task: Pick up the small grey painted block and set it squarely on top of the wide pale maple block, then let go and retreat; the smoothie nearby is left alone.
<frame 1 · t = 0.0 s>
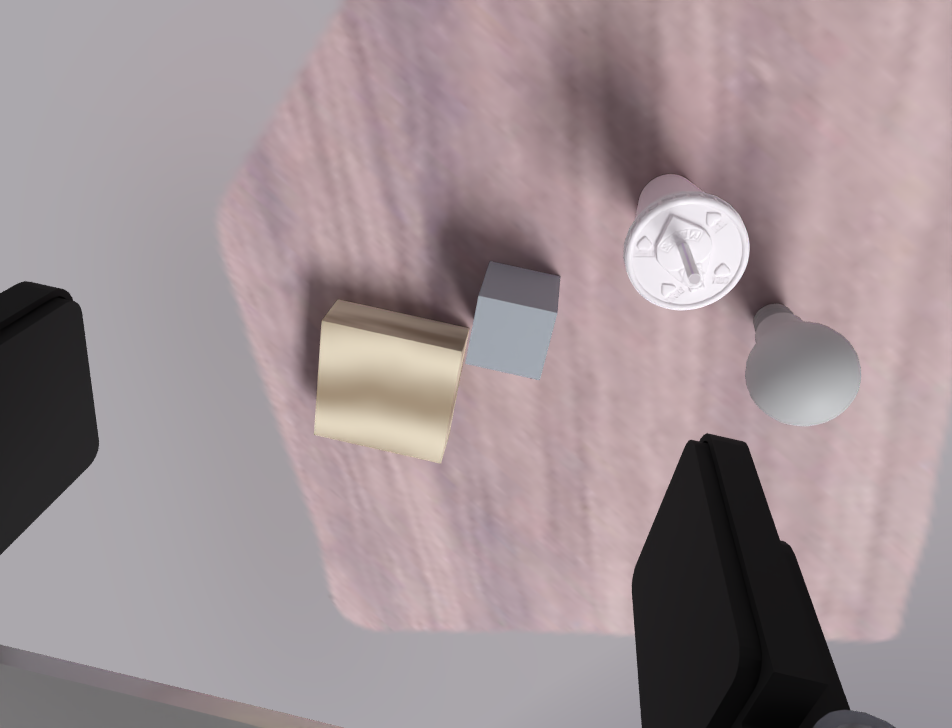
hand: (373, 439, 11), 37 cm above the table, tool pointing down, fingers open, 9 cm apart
lightbulb: (769, 314, 48), on the table
grey block: (517, 300, 49), on the table
smoothie: (667, 202, 45), on the table
maple block: (396, 368, 54), on the table
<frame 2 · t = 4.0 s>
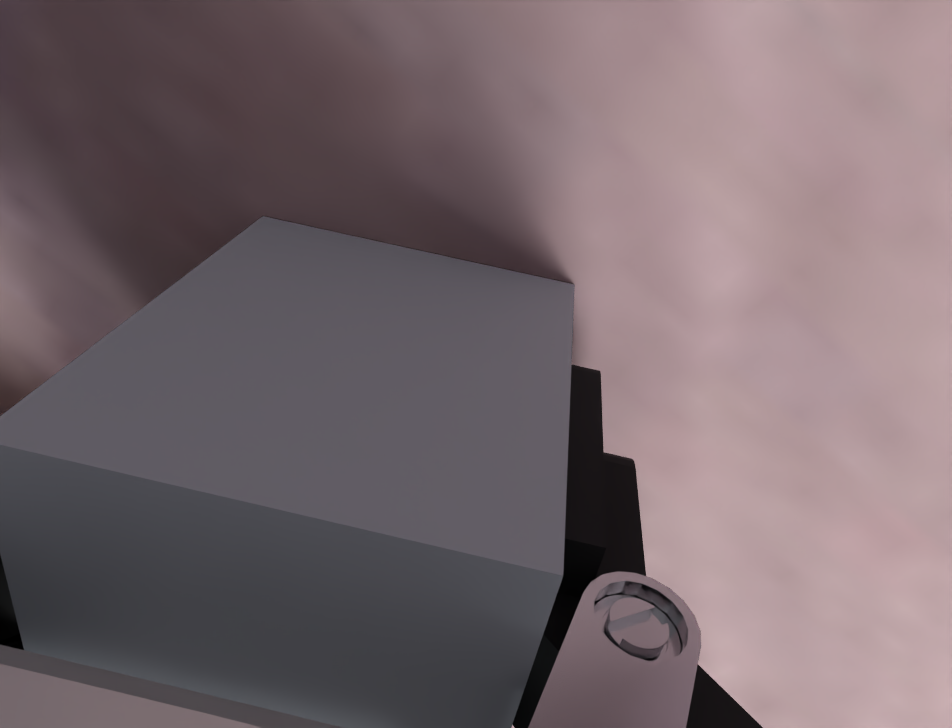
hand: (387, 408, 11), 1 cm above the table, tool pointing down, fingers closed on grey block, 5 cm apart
grey block: (398, 383, 12), on the table, touching gripper
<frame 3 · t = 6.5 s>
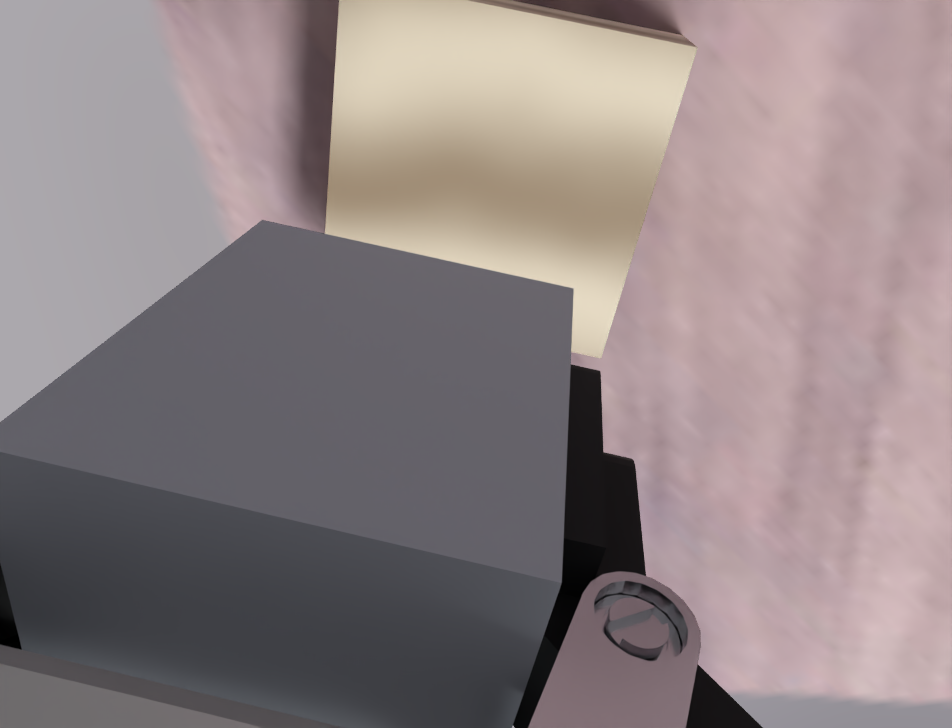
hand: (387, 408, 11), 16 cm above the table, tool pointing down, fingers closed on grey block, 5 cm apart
grey block: (398, 386, 12), point 15 cm above the table, touching gripper
maple block: (499, 156, 25), on the table
when the fingers open (6 cm above the table, at t = 8.9 s): grey block drops 1 cm, resting on maple block.
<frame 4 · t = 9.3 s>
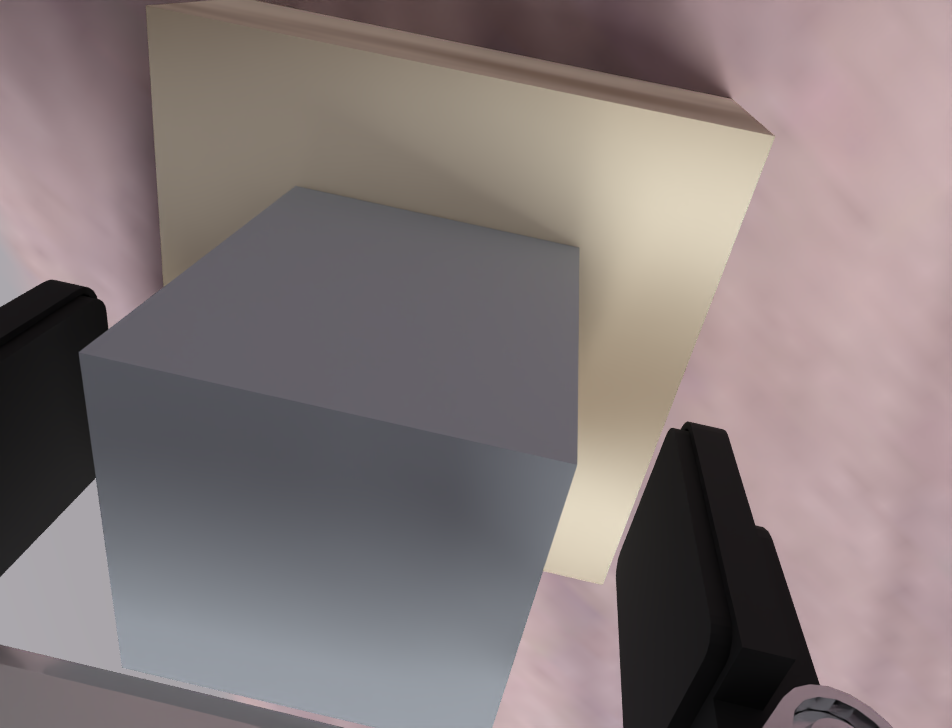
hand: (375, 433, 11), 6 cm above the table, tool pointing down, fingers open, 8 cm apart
grey block: (417, 341, 13), point 4 cm above the table, touching maple block
maple block: (450, 269, 17), on the table, touching grey block
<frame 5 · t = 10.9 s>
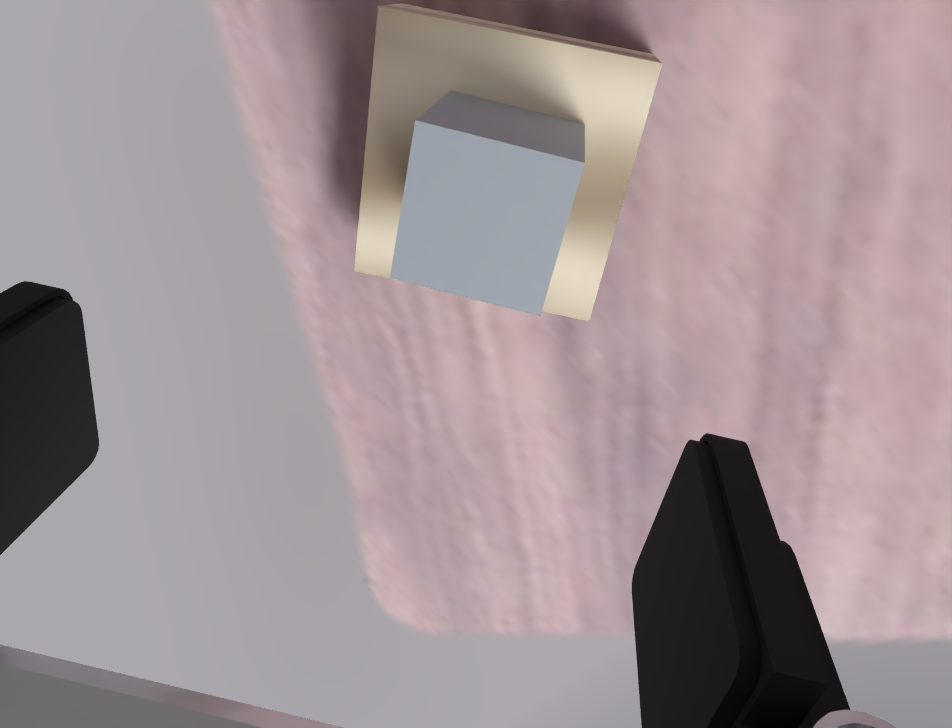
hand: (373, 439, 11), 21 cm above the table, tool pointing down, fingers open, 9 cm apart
grey block: (501, 174, 26), point 4 cm above the table, touching maple block
maple block: (503, 154, 30), on the table, touching grey block
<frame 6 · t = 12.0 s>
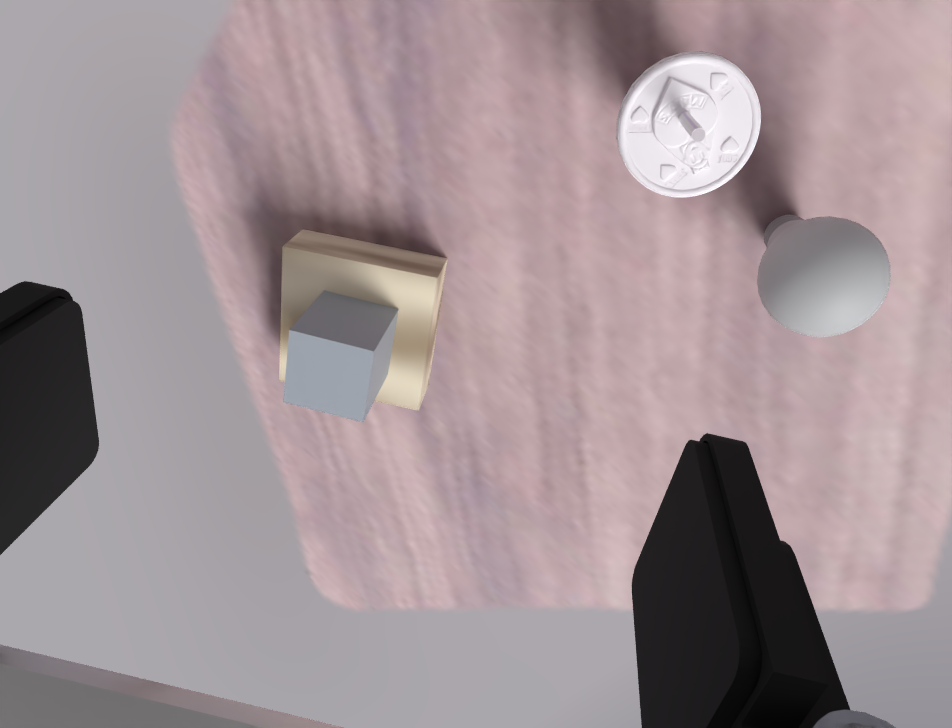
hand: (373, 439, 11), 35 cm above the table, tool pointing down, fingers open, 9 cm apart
lightbulb: (781, 229, 43), on the table
grey block: (356, 333, 46), point 4 cm above the table, touching maple block
smoothie: (665, 100, 40), on the table
maple block: (370, 308, 49), on the table, touching grey block
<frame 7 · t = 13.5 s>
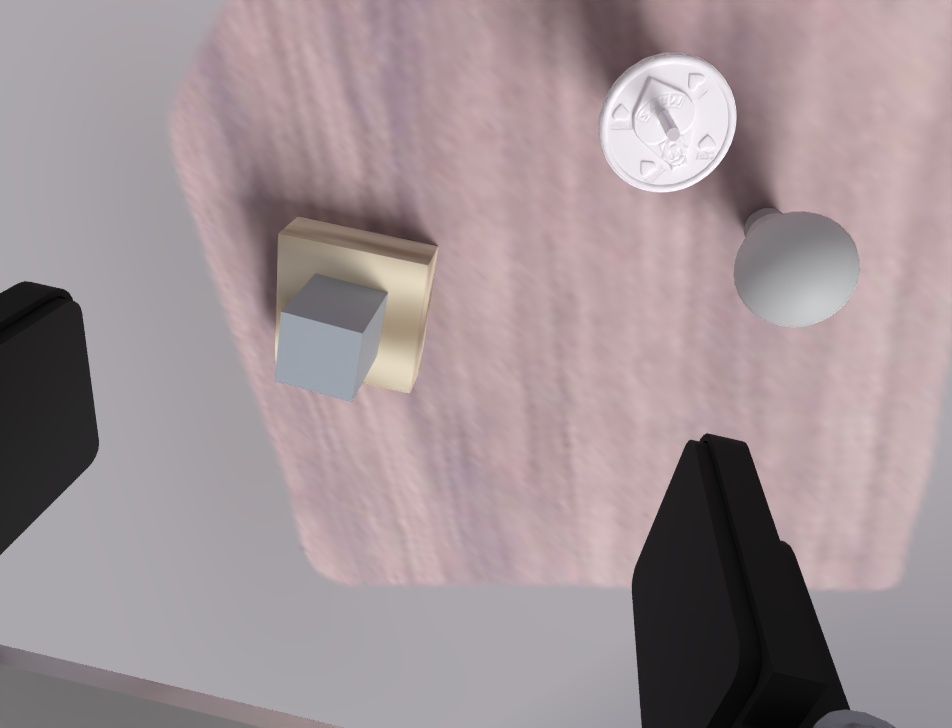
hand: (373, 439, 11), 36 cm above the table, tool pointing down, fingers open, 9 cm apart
lightbulb: (761, 222, 44), on the table
grey block: (347, 315, 47), point 4 cm above the table, touching maple block
smoothie: (650, 95, 41), on the table
maple block: (363, 293, 51), on the table, touching grey block
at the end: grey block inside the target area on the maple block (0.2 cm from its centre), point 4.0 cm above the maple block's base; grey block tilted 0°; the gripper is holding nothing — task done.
